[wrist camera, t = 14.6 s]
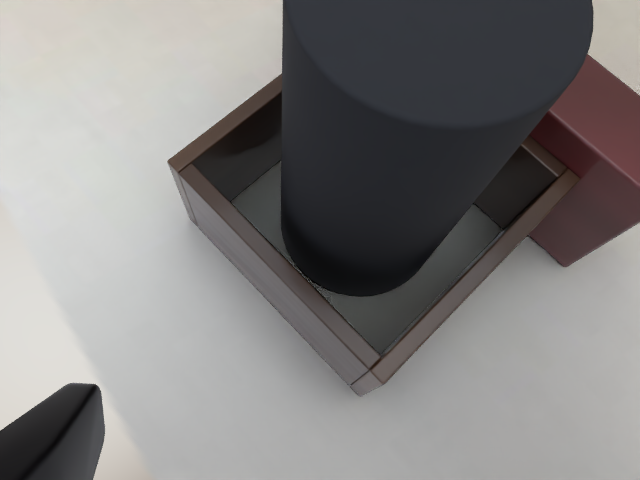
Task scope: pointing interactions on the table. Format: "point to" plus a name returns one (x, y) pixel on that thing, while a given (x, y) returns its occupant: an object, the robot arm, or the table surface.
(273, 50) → the table surface
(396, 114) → the dark grey cylinder
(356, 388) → the brown square frame
